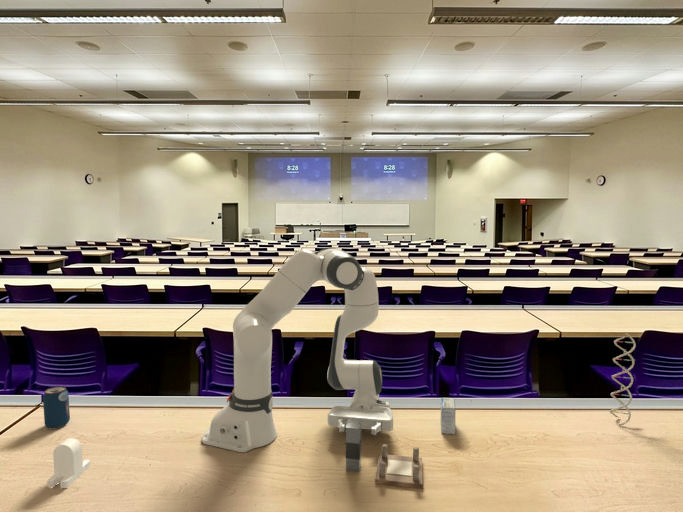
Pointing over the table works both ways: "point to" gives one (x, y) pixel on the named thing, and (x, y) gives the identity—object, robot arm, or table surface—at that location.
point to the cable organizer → (67, 463)
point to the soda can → (56, 407)
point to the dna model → (624, 377)
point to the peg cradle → (399, 469)
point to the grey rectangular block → (353, 445)
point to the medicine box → (448, 415)
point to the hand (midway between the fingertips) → (357, 431)
